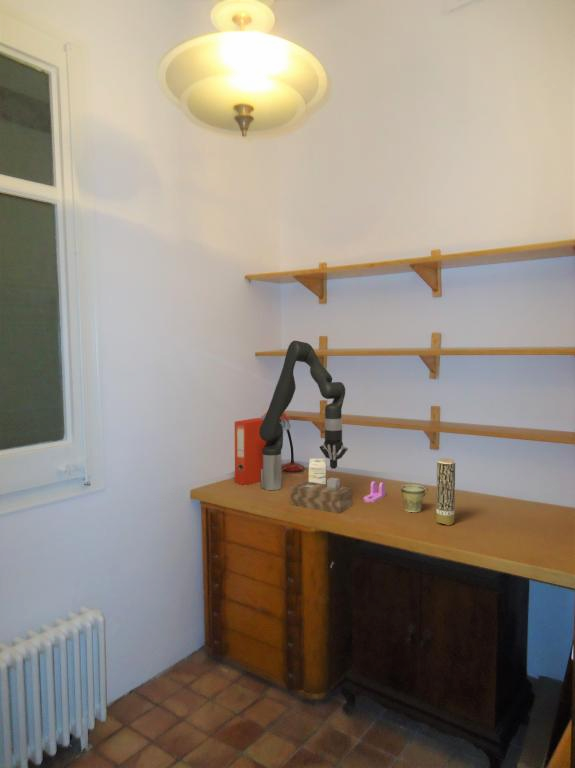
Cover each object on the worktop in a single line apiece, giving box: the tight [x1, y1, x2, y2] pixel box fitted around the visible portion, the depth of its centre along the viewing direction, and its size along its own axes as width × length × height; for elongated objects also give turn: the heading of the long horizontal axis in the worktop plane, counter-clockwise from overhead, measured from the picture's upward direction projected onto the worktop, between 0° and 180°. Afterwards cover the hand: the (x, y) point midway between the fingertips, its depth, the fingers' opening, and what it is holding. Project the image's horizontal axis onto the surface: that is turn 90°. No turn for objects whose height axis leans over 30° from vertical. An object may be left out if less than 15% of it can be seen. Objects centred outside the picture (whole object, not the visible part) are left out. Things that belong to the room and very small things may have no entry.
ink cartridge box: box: [308, 457, 327, 484], centre depth 257 cm, size 9×5×15 cm, turn 84°
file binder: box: [234, 417, 266, 486], centre depth 271 cm, size 8×17×32 cm, turn 139°
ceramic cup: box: [400, 484, 429, 513], centre depth 223 cm, size 13×10×10 cm
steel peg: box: [326, 477, 341, 491], centre depth 227 cm, size 4×4×7 cm
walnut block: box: [290, 480, 353, 514], centre depth 230 cm, size 24×12×8 cm, turn 59°
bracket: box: [363, 480, 386, 503], centre depth 240 cm, size 13×6×7 cm, turn 145°
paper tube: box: [435, 458, 456, 524], centre depth 206 cm, size 7×7×25 cm
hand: (333, 468), depth 226 cm, fingers closed
